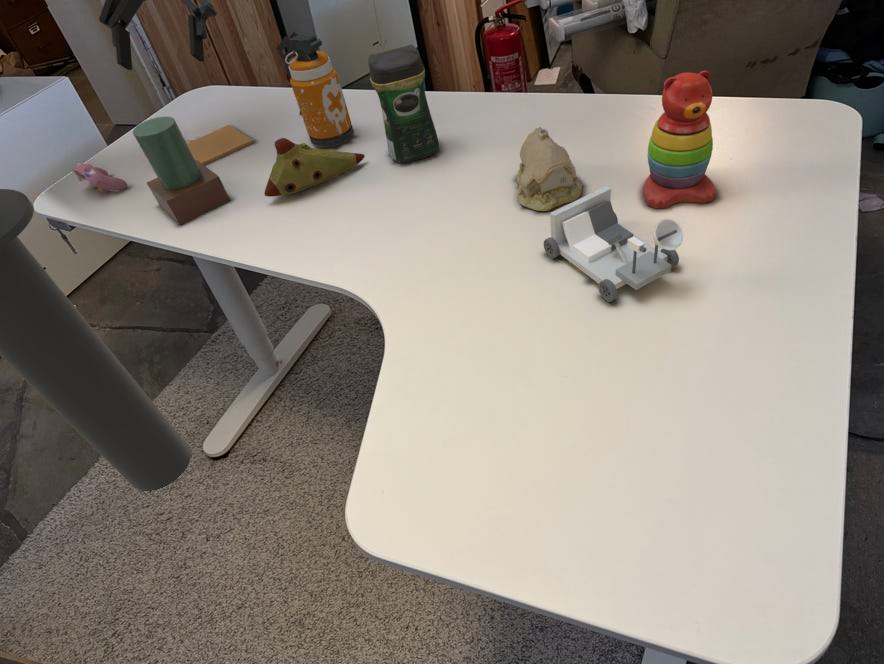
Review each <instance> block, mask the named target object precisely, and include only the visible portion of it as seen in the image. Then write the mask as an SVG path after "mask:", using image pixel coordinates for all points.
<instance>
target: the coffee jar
mask: <svg viewBox="0 0 884 664" xmlns="http://www.w3.org/2000/svg"><path fill="white" fill-rule="evenodd" d="M367 61H368V62H367V63H368V70H369V80H370V83H371V85H372V87H373V89H374V90H375V92H376V95H377V97H378V101H379V105H380V109H381V113H382V119H383V124H384V132H385V133H384V134H385V139H386V144H387V150H388V153H389V156H390V158H391V159H392V160H394V161H395V162H397V163H402V164H403V163H410V162H414V161H417V160H420V159H423V158H426V157H430V156H433V155H434V154H436V153H437V151H438V150H439V149H440V142H439V137H438V134H437V133H438V132H437V130H436V127H435V123H434V119H433V117H432V114H431V110H430V107H429V103H428V100H427V95H426V89H425V79H426V70H425V67H424V64H423V61H422V58H421V54H420V52H419V50H418V48H416V47H415V45H413V44H408V45H405V46H400V47H397V48H392V49H388V50H385V51H381V52H377V53H372V54H370V55H368V57H367Z"/></svg>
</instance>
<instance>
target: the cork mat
mask: <svg viewBox="0 0 884 664" xmlns="http://www.w3.org/2000/svg"><path fill="white" fill-rule="evenodd" d="M186 143H187V145H188V147H189V149H190V151H191V153H192V155H193V157H194V159H195V160H198V161H199V162H200V163H202V164H203V165H204V166H206V165H208V164H210V163H212V162H214V161H217V160H218V159H220V158H223V157H225V156H227V155H229V154H232V153H234V152H236V151H238V150H240V149H242V148H245V147H247V146H249V145H252V144H253V143H254V140H253V139H252V138H250V137H249V136H248V135H246V134H244V133H242V132H241V131H240V130H238V129H236V128H235V127H233V126H231V125H230V124H227V125H224V126H223V127H220V128H218V129H215V130H213V131H211V132H209V133H207V134H204V135H202V136H200V137H197V138H195V139H193V140H191V141H188V142H186Z"/></svg>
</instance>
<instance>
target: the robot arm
mask: <svg viewBox="0 0 884 664" xmlns="http://www.w3.org/2000/svg"><path fill="white" fill-rule="evenodd" d="M146 1H147V0H105V1H104V3H103V6H102V9H101V12H100V15H99V18H98V21H99V23H101V24H102V25H104V26H105V27H107V28H108V29H110V30H111V42H112V45H113V47H115V50H116V51H115V52H116V64H118V65H119V66H121V67H123V68H124V69H126V70H127V71H133V60H132V45H131V33H130V31H128V29H127V28H128V26H129V24H130V23H131V22H132V20H133V18H134V17H135V15H136V13H137V12H138V11H139V9H140V7H141V6H142V4H143V2H146ZM180 1H181V2H182V3H183V4H184V5H185V7H186V8H187V9H188V10H189V11H190V12H191V13H192V14H189V15H187V18H188V32H189V33H188V34H189V44H190V45H189V49H190V55H191V56H192V57H194V59H196V60H197V61H199V63H200V62H205V54H204V53H205V52H204V40H207V37H208V32H207V20H208V19H209V18H210V17H213V18H214V17H216V16H217V14H218V12H217V10H216V8H215V7H214V5H213V3H212V1H211V0H198V2H199V4H200V6H198V5H197V4H196V3H195V2H194V1H193V0H180Z"/></svg>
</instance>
